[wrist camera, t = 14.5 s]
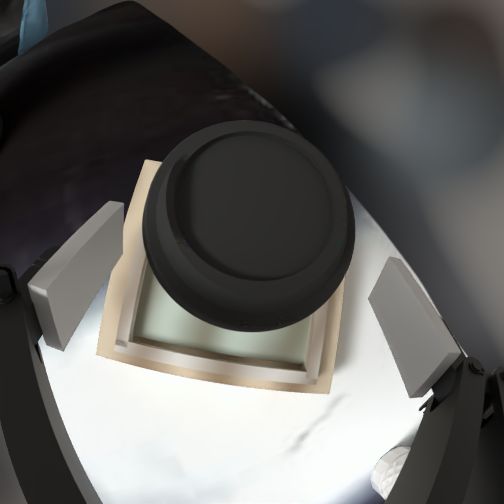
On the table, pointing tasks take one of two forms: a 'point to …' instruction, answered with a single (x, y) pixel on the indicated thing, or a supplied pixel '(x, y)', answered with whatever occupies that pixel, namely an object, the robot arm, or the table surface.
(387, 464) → the white cup
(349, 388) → the table surface
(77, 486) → the robot arm
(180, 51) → the table surface
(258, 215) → the coffee cup
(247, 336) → the tray
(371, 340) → the table surface
